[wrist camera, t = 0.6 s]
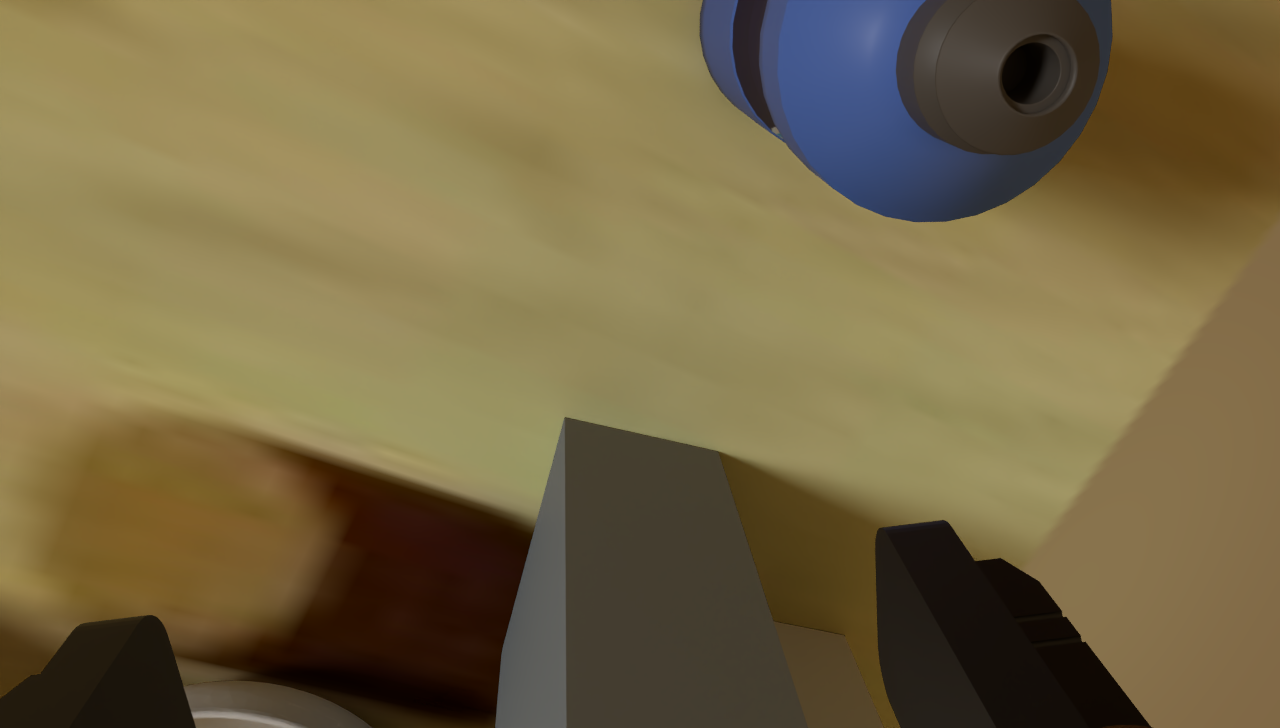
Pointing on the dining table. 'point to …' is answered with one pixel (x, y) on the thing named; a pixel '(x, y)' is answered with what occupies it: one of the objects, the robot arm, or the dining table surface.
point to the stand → (658, 605)
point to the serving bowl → (263, 707)
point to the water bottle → (915, 91)
